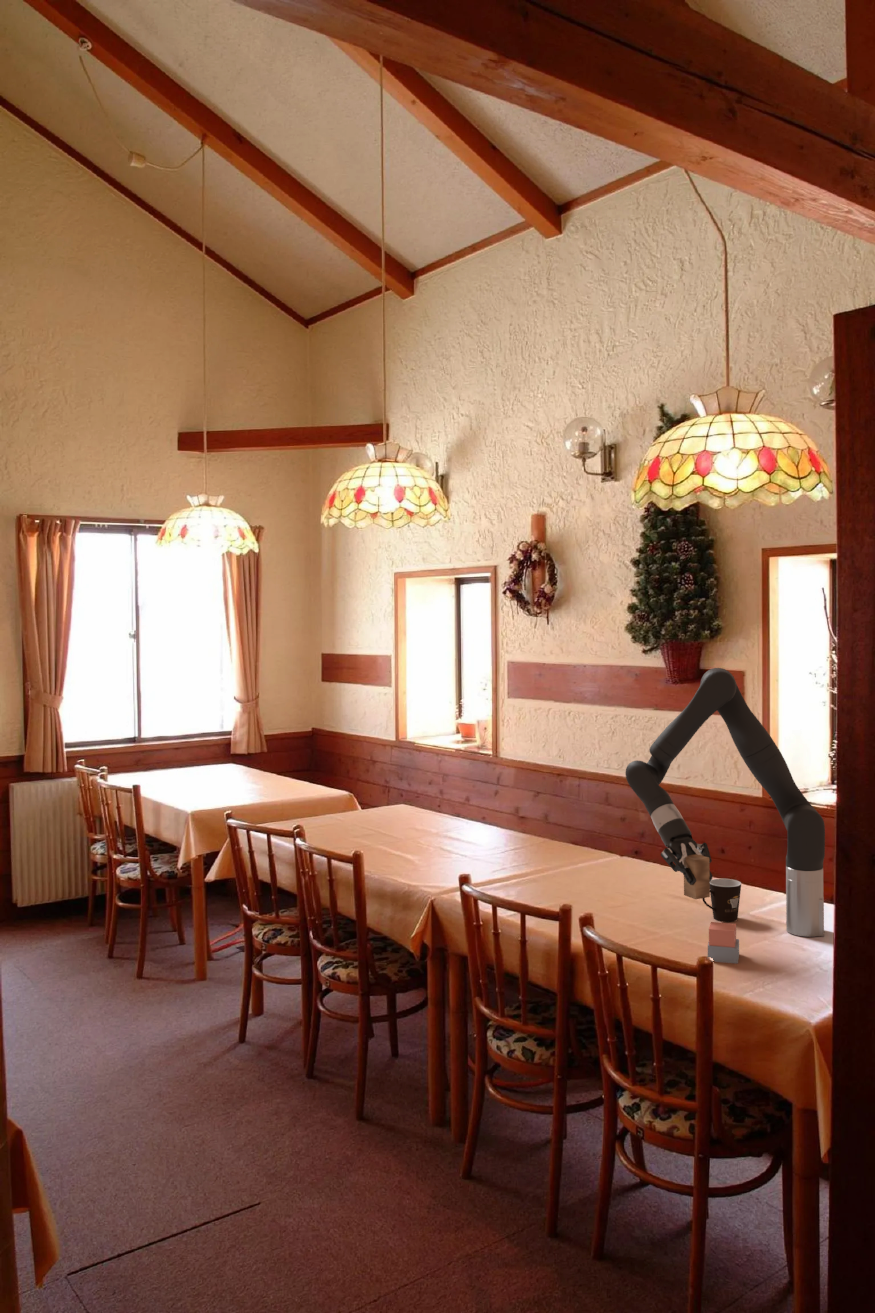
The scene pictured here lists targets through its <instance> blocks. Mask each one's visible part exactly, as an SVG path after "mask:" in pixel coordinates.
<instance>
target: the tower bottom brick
mask: <svg viewBox="0 0 875 1313" xmlns="http://www.w3.org/2000/svg"><path fill="white" fill-rule="evenodd" d="M708 957H711V958H713V960H714V961H715V963H716V962H717V963H727V964H739V960H740V959H739V958H740V939H739V938H736V943H735V948H733V947H722V946H711V945H709V941H708V943H707V958H708Z"/></svg>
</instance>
